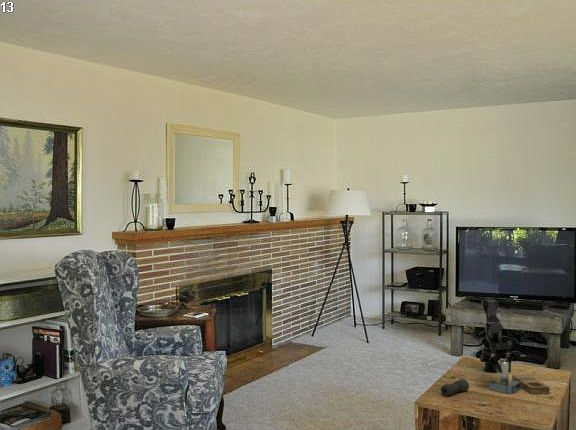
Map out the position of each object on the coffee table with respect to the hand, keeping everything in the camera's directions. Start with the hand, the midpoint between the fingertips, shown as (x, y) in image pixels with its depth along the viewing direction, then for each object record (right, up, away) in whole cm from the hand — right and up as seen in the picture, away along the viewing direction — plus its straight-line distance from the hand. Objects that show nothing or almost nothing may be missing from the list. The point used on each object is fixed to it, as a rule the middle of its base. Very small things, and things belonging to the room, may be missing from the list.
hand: (505, 372), depth 270 cm
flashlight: (-26, -9, -4) cm, 27 cm away
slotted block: (+13, -8, +4) cm, 16 cm away
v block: (0, -8, -2) cm, 9 cm away
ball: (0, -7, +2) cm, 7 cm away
